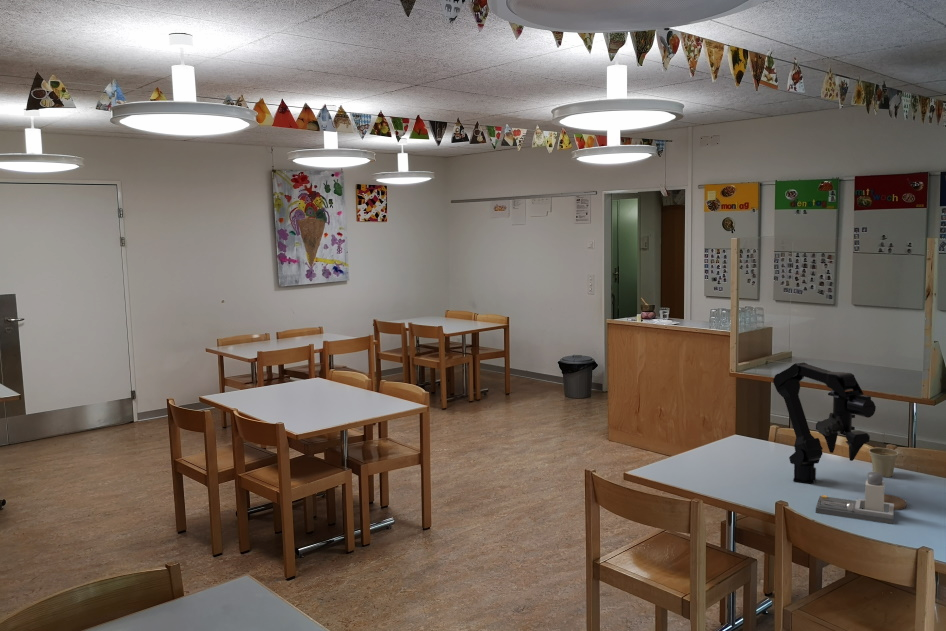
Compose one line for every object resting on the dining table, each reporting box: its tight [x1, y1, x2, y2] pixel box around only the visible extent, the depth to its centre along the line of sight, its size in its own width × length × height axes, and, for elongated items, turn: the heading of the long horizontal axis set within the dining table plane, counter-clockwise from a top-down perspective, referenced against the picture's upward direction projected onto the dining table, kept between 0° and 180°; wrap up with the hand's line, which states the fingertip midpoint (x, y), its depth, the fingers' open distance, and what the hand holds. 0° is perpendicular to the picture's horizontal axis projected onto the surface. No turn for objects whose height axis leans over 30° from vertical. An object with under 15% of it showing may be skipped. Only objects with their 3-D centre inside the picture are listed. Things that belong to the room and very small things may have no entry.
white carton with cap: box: [864, 471, 885, 512], centre depth 230 cm, size 5×5×13 cm
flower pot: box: [868, 447, 899, 478], centre depth 267 cm, size 9×9×9 cm
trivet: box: [884, 493, 907, 511], centre depth 240 cm, size 11×11×1 cm
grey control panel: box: [815, 494, 895, 525], centre depth 234 cm, size 21×12×3 cm, turn 59°
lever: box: [817, 499, 853, 512], centre depth 232 cm, size 10×2×4 cm, turn 59°
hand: (841, 456), depth 248 cm, fingers open, 9 cm apart
